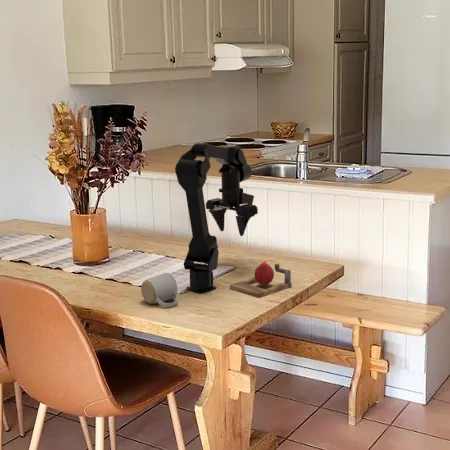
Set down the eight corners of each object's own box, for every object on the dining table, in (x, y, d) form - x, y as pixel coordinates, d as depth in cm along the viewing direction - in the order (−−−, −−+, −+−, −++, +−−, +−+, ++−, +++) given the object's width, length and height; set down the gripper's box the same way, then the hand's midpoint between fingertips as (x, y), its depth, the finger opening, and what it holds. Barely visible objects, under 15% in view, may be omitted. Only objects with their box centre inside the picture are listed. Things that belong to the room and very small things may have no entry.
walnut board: (259, 297, 201) (259, 277, 199) (229, 288, 209) (229, 269, 208) (292, 286, 210) (292, 267, 208) (262, 278, 218) (262, 259, 217)
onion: (272, 290, 207) (272, 263, 205) (253, 289, 208) (252, 263, 207) (275, 283, 213) (275, 258, 211) (256, 283, 214) (256, 257, 212)
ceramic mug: (139, 301, 200) (138, 275, 198) (163, 294, 205) (162, 269, 203) (161, 311, 192) (160, 284, 190) (185, 304, 197) (184, 278, 195)
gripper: (269, 185, 220) (270, 233, 224) (229, 178, 234) (230, 224, 238) (244, 190, 213) (245, 240, 217) (204, 183, 227) (205, 230, 230)
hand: (231, 233), depth 226 cm, fingers open, 9 cm apart
